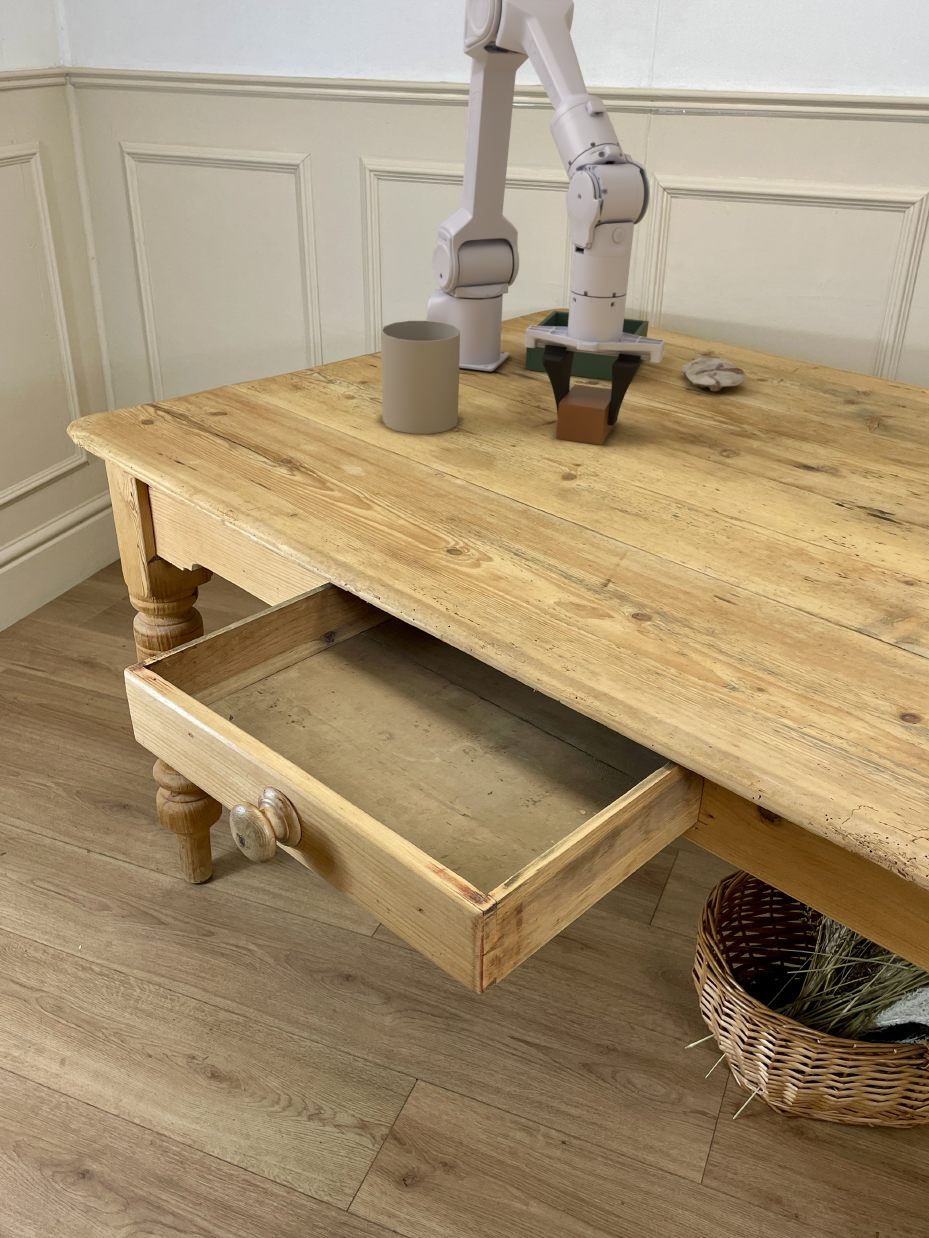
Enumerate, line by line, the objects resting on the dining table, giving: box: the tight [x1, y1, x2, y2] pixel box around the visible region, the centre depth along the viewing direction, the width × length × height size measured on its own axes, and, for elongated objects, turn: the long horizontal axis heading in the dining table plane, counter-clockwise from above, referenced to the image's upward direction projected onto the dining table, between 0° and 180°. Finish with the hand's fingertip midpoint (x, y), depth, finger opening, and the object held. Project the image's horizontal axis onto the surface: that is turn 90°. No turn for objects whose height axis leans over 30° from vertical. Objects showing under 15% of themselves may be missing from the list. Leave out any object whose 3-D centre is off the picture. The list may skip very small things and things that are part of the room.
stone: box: [681, 354, 747, 392], centre depth 125 cm, size 10×7×3 cm
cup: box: [380, 320, 460, 435], centre depth 108 cm, size 8×8×10 cm
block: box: [555, 384, 614, 446], centre depth 108 cm, size 5×7×4 cm
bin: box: [524, 310, 649, 381], centre depth 131 cm, size 13×13×5 cm
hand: (586, 419), depth 109 cm, fingers closed on block, 5 cm apart
